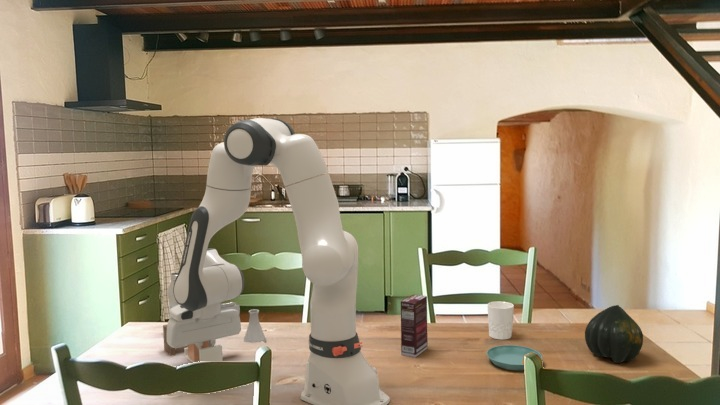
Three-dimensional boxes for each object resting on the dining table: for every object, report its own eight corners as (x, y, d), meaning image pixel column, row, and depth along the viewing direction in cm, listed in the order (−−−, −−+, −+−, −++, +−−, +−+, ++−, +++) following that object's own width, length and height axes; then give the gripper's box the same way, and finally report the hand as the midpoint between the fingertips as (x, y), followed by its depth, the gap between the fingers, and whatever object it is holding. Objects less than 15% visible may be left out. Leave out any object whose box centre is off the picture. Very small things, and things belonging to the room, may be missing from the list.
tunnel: (213, 350, 178) (211, 322, 177) (171, 359, 171) (169, 330, 170) (205, 344, 183) (204, 317, 182) (164, 353, 176) (163, 325, 175)
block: (211, 357, 169) (210, 338, 169) (194, 361, 166) (193, 341, 166) (204, 352, 173) (204, 333, 173) (187, 356, 170) (187, 337, 170)
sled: (226, 368, 163) (225, 347, 162) (203, 374, 159) (202, 353, 159) (205, 352, 175) (204, 333, 174) (183, 357, 171) (182, 338, 171)
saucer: (476, 358, 170) (476, 349, 169) (520, 351, 175) (520, 342, 175) (506, 377, 156) (506, 367, 156) (553, 369, 161) (553, 359, 161)
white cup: (482, 334, 189) (482, 303, 188) (502, 330, 192) (502, 300, 191) (497, 342, 182) (498, 309, 181) (518, 338, 185) (519, 306, 184)
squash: (600, 350, 158) (632, 305, 160) (566, 335, 173) (596, 293, 175) (634, 381, 162) (665, 336, 164) (598, 363, 176) (627, 322, 178)
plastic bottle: (164, 337, 190) (161, 275, 188) (176, 331, 196) (173, 270, 194) (182, 339, 188) (179, 276, 186) (194, 332, 194) (191, 271, 192)
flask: (269, 338, 188) (268, 307, 187) (263, 346, 180) (262, 314, 179) (246, 338, 188) (245, 307, 187) (239, 346, 181) (238, 313, 180)
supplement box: (413, 346, 180) (413, 293, 178) (428, 348, 177) (428, 295, 175) (400, 355, 172) (399, 300, 170) (415, 358, 170) (415, 303, 168)
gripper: (234, 298, 173) (236, 344, 174) (163, 310, 161) (165, 360, 162) (244, 302, 168) (245, 351, 169) (171, 316, 156) (173, 368, 157)
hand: (205, 356), depth 166 cm, fingers closed
